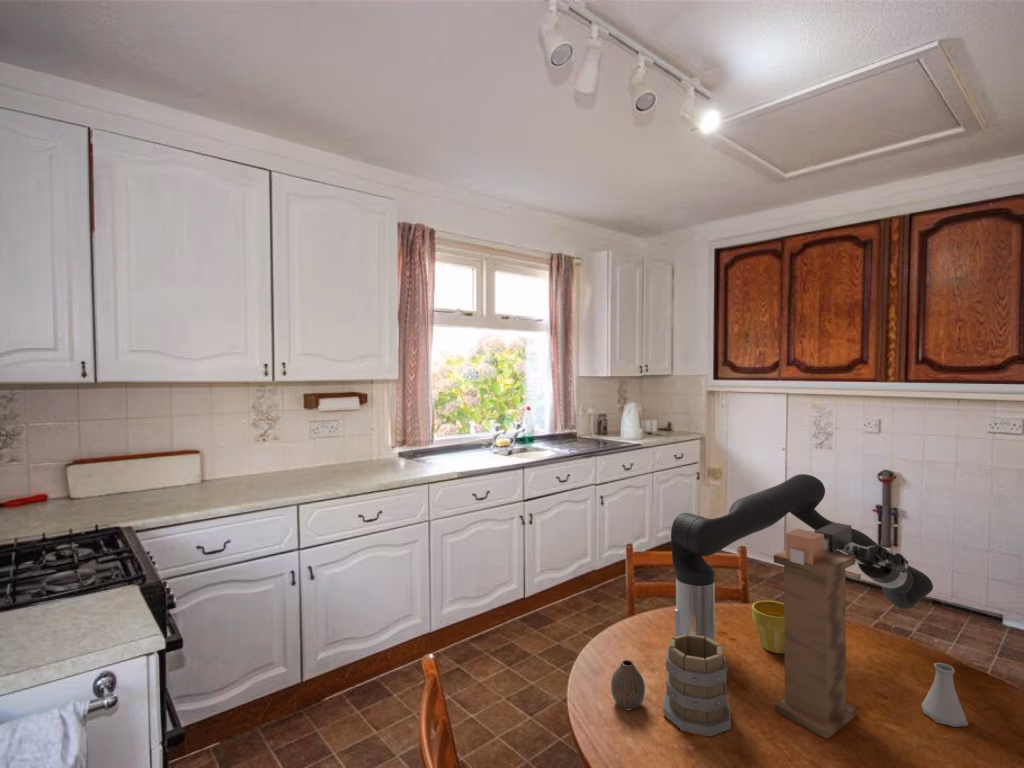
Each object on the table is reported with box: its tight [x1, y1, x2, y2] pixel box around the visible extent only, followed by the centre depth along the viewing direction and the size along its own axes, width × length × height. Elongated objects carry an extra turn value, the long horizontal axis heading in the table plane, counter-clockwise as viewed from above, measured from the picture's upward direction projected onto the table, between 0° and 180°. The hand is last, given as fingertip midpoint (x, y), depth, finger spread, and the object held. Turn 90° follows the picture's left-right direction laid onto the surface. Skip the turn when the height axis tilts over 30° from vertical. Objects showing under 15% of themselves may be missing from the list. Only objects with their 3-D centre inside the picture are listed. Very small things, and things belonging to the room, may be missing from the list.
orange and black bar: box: [785, 522, 853, 565], centre depth 109 cm, size 22×5×5 cm, turn 128°
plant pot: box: [751, 600, 785, 655], centre depth 132 cm, size 10×10×10 cm
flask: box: [920, 662, 970, 728], centre depth 105 cm, size 7×7×10 cm
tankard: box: [662, 616, 732, 738], centre depth 110 cm, size 20×13×15 cm, turn 160°
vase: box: [610, 659, 646, 710], centre depth 110 cm, size 7×7×9 cm
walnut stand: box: [773, 550, 857, 740], centre depth 106 cm, size 12×10×32 cm
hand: (854, 544), depth 116 cm, fingers open, 8 cm apart
